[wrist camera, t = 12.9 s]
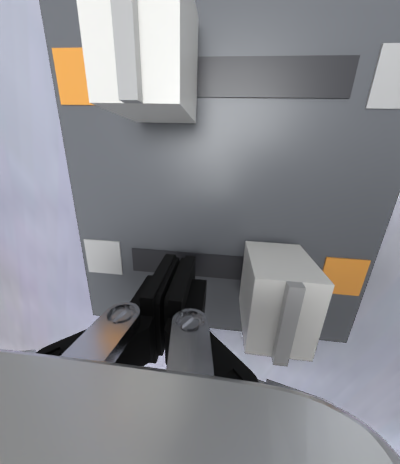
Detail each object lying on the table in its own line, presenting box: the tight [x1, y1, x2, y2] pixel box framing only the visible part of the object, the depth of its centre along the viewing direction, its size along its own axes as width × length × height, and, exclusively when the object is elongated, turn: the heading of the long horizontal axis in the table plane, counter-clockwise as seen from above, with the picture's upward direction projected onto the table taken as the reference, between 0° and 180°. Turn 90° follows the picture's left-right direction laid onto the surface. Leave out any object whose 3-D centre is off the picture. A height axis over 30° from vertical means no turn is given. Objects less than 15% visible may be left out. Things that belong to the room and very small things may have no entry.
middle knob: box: [76, 0, 199, 123], centre depth 8 cm, size 3×4×4 cm
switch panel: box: [39, 0, 400, 343], centre depth 11 cm, size 18×30×3 cm, turn 178°
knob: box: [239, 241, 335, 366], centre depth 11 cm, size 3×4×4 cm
